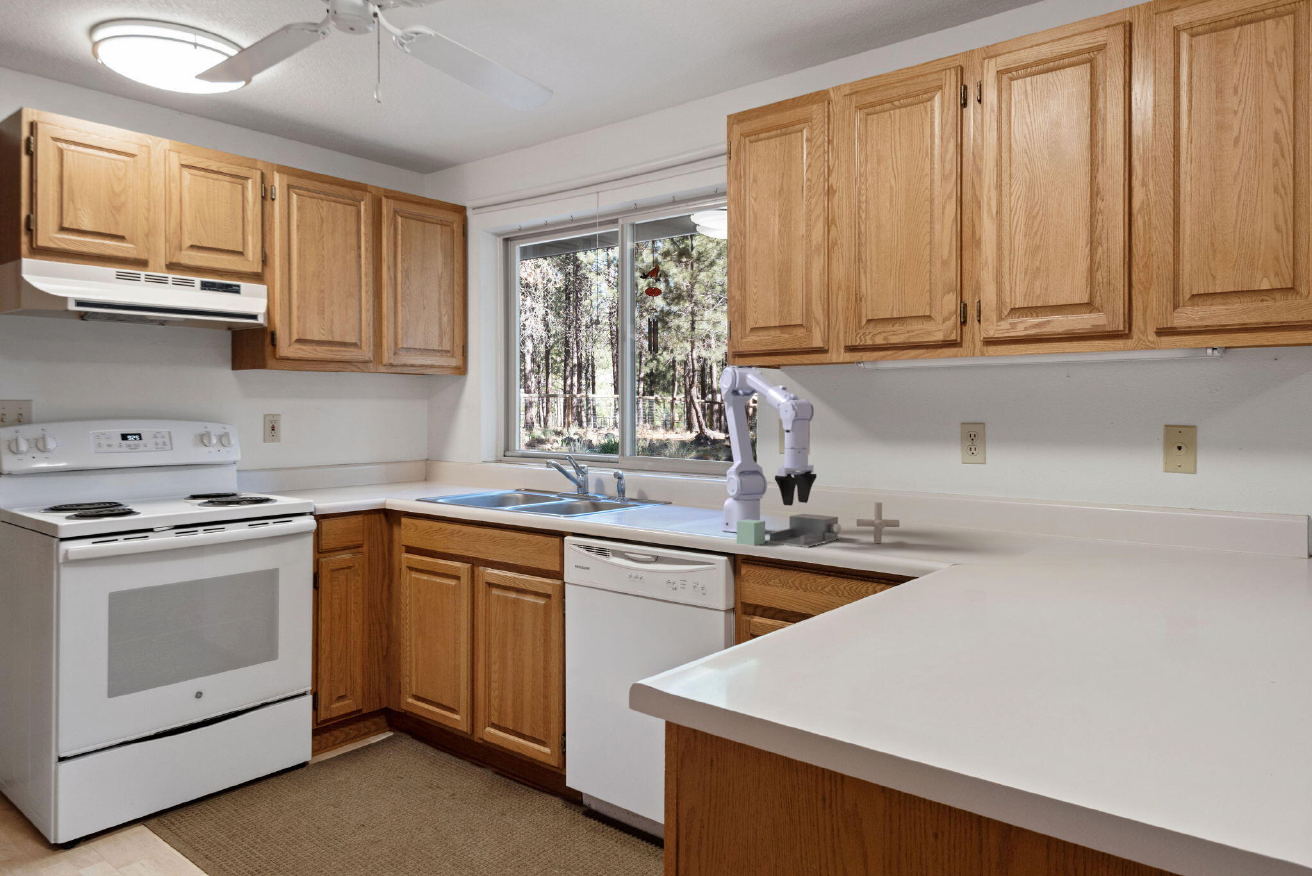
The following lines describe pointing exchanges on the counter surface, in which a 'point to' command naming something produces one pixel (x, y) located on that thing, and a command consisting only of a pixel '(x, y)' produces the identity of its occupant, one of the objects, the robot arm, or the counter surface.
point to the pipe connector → (877, 522)
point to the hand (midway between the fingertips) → (795, 503)
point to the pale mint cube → (750, 532)
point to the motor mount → (807, 531)
